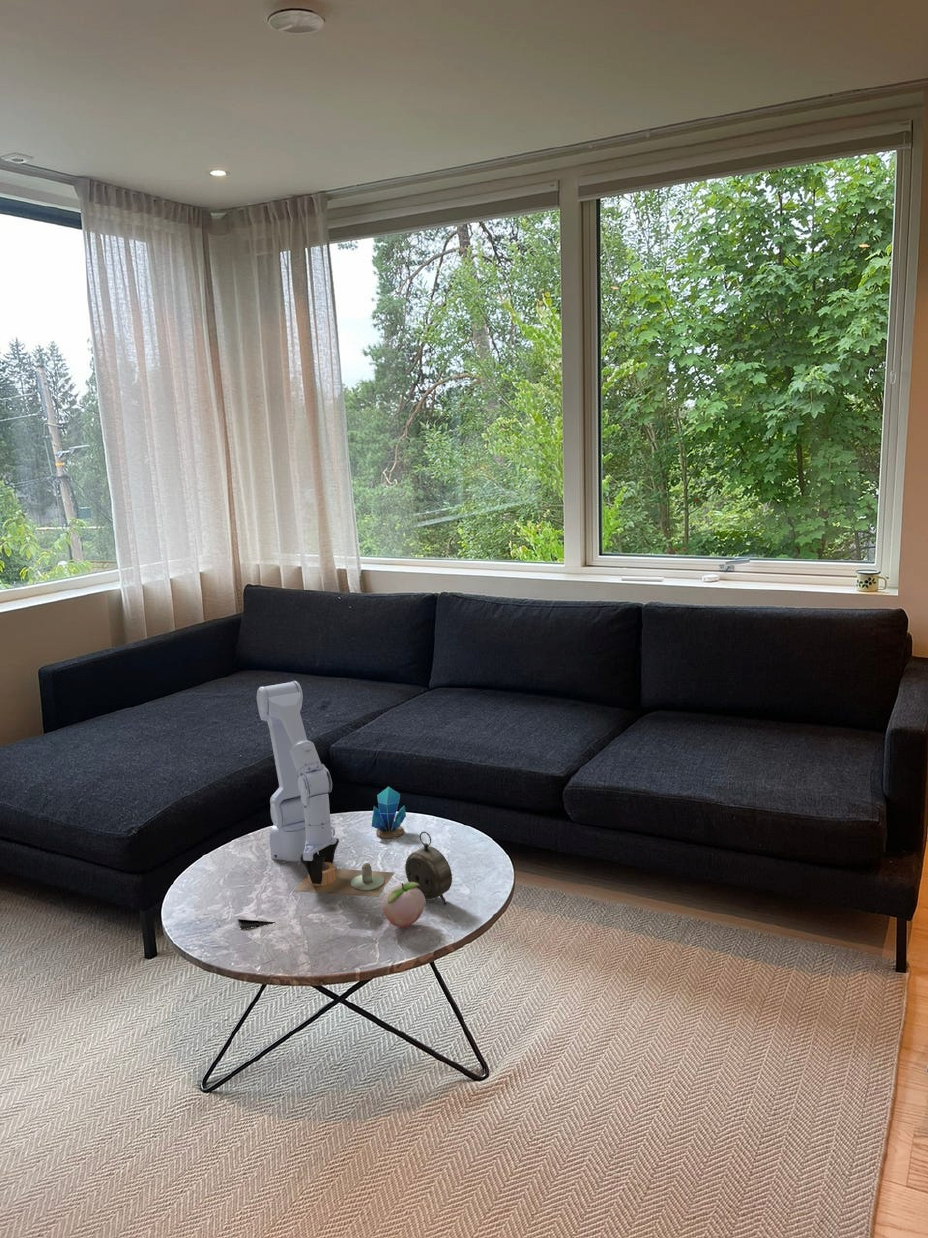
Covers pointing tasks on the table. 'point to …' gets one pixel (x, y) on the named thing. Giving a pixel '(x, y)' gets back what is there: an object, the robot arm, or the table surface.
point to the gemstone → (388, 815)
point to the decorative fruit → (404, 904)
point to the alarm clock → (429, 871)
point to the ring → (327, 875)
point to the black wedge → (252, 923)
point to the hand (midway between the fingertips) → (322, 876)
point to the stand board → (351, 882)
